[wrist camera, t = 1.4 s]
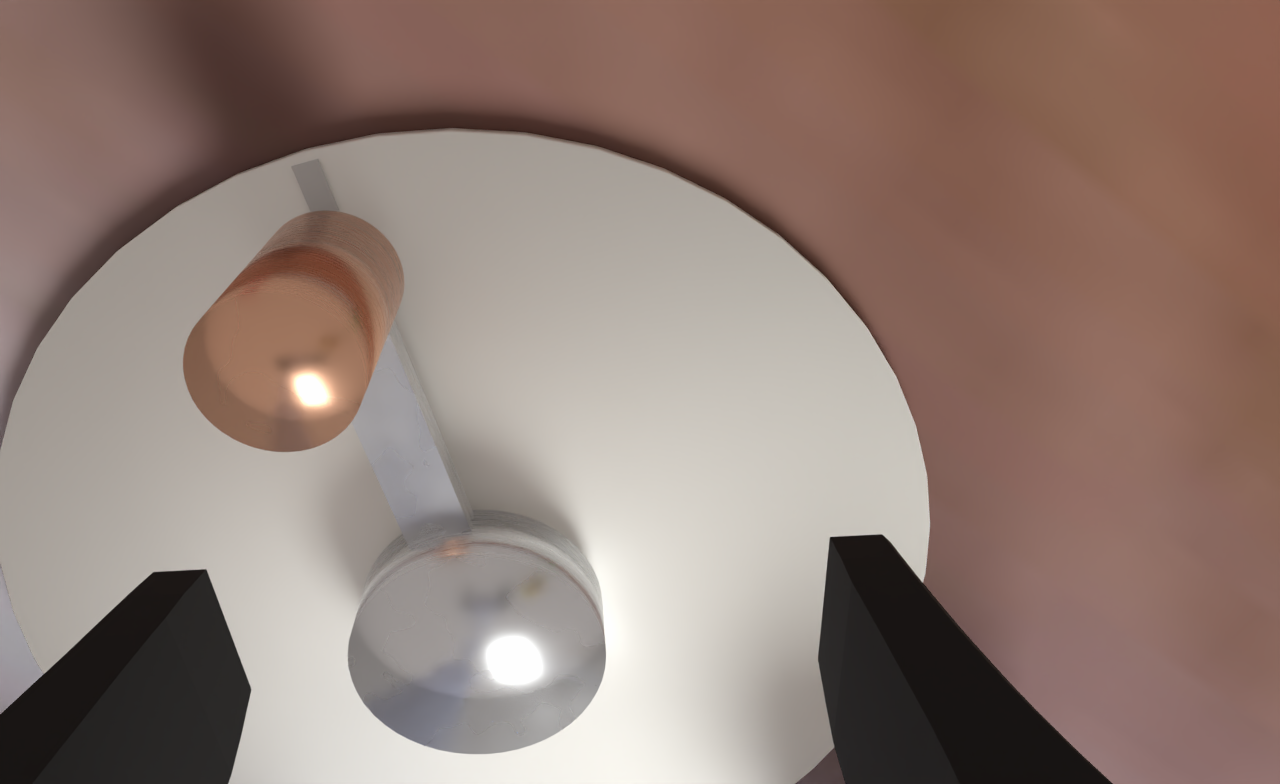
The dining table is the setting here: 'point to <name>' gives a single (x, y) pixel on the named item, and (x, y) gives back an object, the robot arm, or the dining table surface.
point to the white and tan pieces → (402, 498)
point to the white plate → (488, 453)
